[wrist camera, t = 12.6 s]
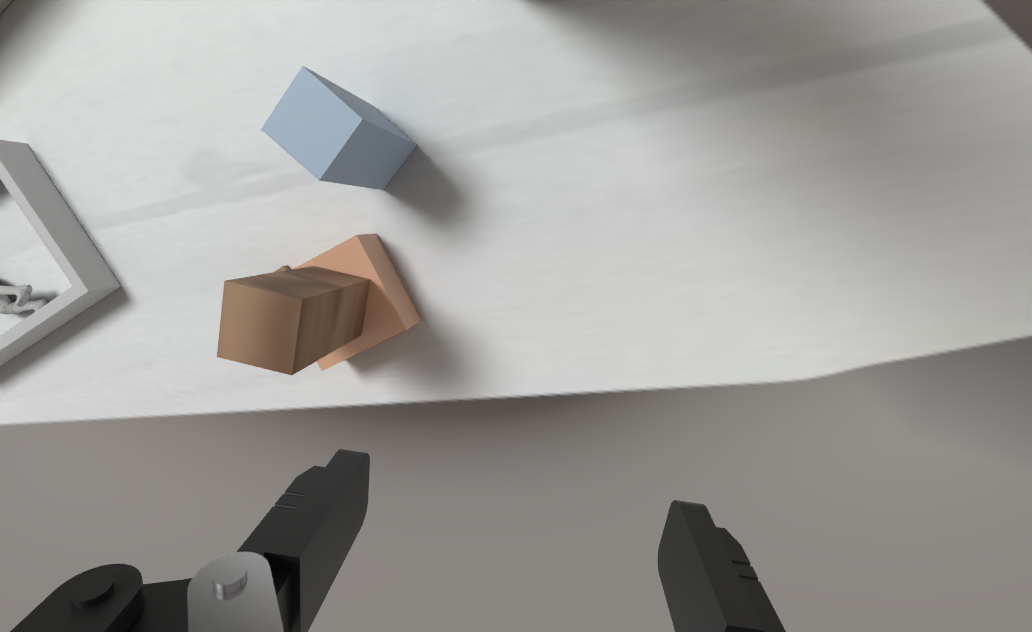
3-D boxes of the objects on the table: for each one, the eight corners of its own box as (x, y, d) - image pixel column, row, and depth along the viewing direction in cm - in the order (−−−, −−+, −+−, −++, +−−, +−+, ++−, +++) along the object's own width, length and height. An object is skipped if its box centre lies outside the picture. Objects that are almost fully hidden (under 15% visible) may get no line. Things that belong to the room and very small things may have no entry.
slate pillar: (340, 152, 38) (260, 129, 28) (373, 105, 37) (302, 65, 27) (383, 190, 38) (319, 180, 29) (417, 144, 37) (362, 118, 28)
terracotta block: (299, 274, 41) (271, 280, 37) (377, 233, 40) (356, 235, 36) (344, 356, 42) (321, 370, 38) (422, 319, 41) (406, 330, 37)
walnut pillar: (305, 322, 37) (217, 356, 27) (313, 265, 36) (224, 280, 27) (361, 335, 37) (291, 375, 27) (370, 279, 36) (301, 299, 26)
